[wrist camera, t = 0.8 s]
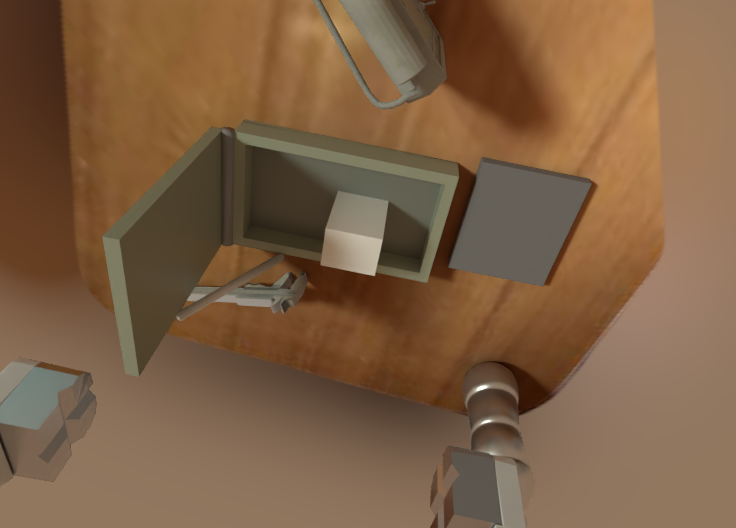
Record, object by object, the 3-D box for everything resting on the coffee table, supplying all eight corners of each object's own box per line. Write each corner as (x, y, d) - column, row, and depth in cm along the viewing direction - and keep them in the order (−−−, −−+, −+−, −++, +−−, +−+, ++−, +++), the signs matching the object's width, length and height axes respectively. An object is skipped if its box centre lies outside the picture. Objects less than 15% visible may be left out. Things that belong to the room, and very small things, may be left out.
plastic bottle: (452, 383, 64) (459, 546, 48) (475, 347, 60) (491, 512, 44) (500, 397, 64) (522, 564, 48) (525, 363, 61) (559, 531, 44)
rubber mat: (482, 157, 46) (483, 161, 46) (589, 178, 46) (591, 183, 46) (448, 262, 53) (448, 267, 53) (541, 280, 53) (542, 286, 53)
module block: (338, 190, 49) (325, 228, 44) (388, 201, 49) (382, 239, 44) (332, 226, 52) (320, 266, 46) (380, 236, 52) (374, 277, 46)
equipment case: (223, 114, 47) (102, 236, 30) (457, 162, 47) (471, 310, 30) (223, 231, 54) (126, 381, 37) (425, 271, 54) (421, 439, 37)
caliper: (306, 268, 56) (294, 305, 51) (309, 276, 57) (297, 313, 52) (143, 286, 60) (116, 321, 55) (147, 293, 61) (121, 328, 56)
